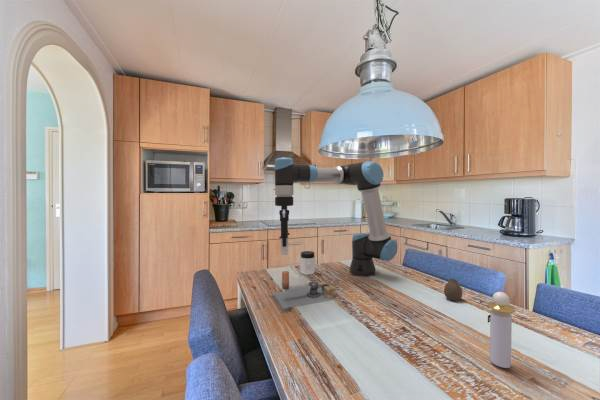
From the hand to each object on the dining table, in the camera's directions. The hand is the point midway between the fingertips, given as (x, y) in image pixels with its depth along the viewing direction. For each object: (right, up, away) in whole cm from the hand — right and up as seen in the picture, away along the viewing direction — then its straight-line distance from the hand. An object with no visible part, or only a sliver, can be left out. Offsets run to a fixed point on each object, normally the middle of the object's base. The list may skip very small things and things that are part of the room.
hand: (284, 252), depth 107 cm
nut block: (+19, -21, +8) cm, 30 cm away
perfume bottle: (+61, -23, -36) cm, 74 cm away
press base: (+8, -23, +9) cm, 26 cm away
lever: (+9, -20, +8) cm, 24 cm away
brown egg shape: (+73, -22, +7) cm, 77 cm away
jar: (+11, -22, +48) cm, 53 cm away
